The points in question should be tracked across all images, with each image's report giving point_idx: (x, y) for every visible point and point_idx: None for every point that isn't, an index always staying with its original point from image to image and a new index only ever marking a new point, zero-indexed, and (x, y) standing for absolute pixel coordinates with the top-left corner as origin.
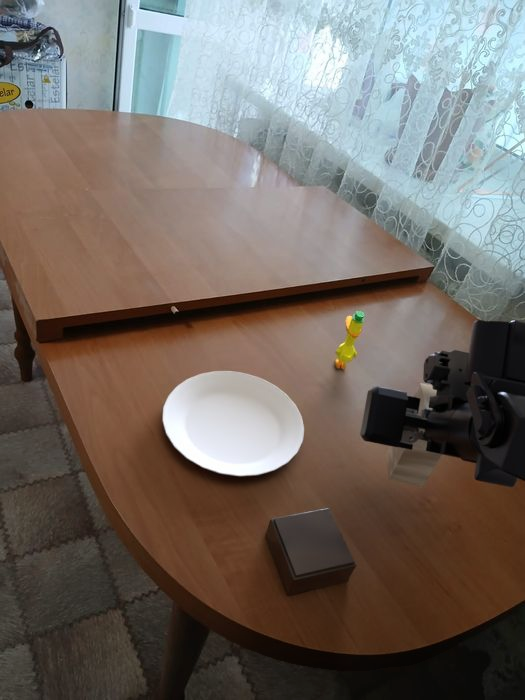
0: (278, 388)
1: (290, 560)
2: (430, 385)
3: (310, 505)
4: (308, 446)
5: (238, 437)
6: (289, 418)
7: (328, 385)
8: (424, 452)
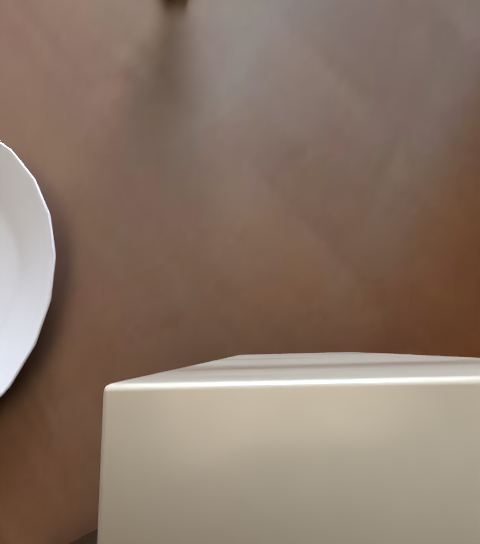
0: None
1: None
2: (267, 393)
3: (95, 465)
4: (93, 282)
5: None
6: (28, 223)
7: (146, 66)
8: None
